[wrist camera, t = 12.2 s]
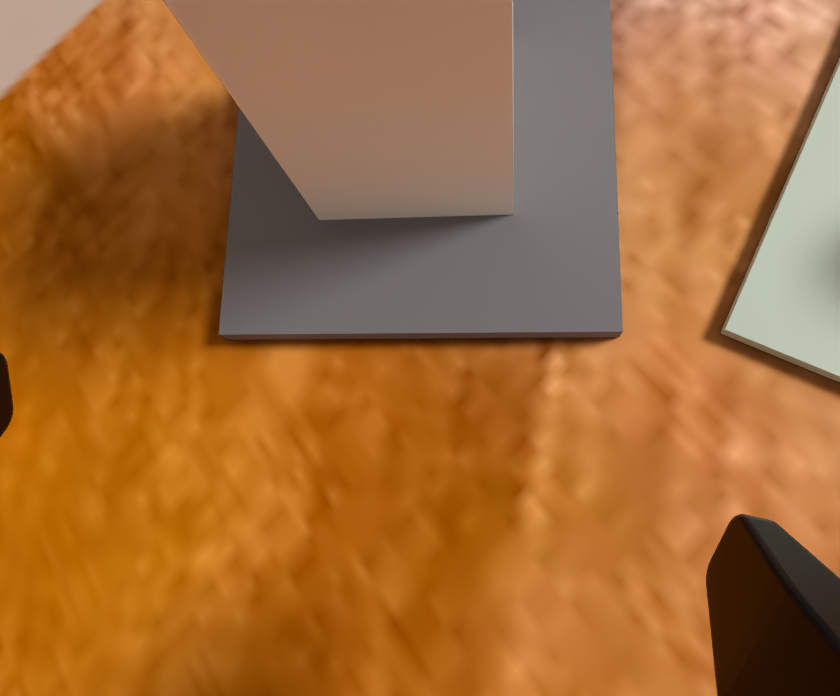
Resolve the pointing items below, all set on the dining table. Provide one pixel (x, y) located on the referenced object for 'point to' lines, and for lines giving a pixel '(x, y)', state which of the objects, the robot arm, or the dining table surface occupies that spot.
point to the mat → (452, 222)
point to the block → (372, 98)
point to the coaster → (800, 257)
